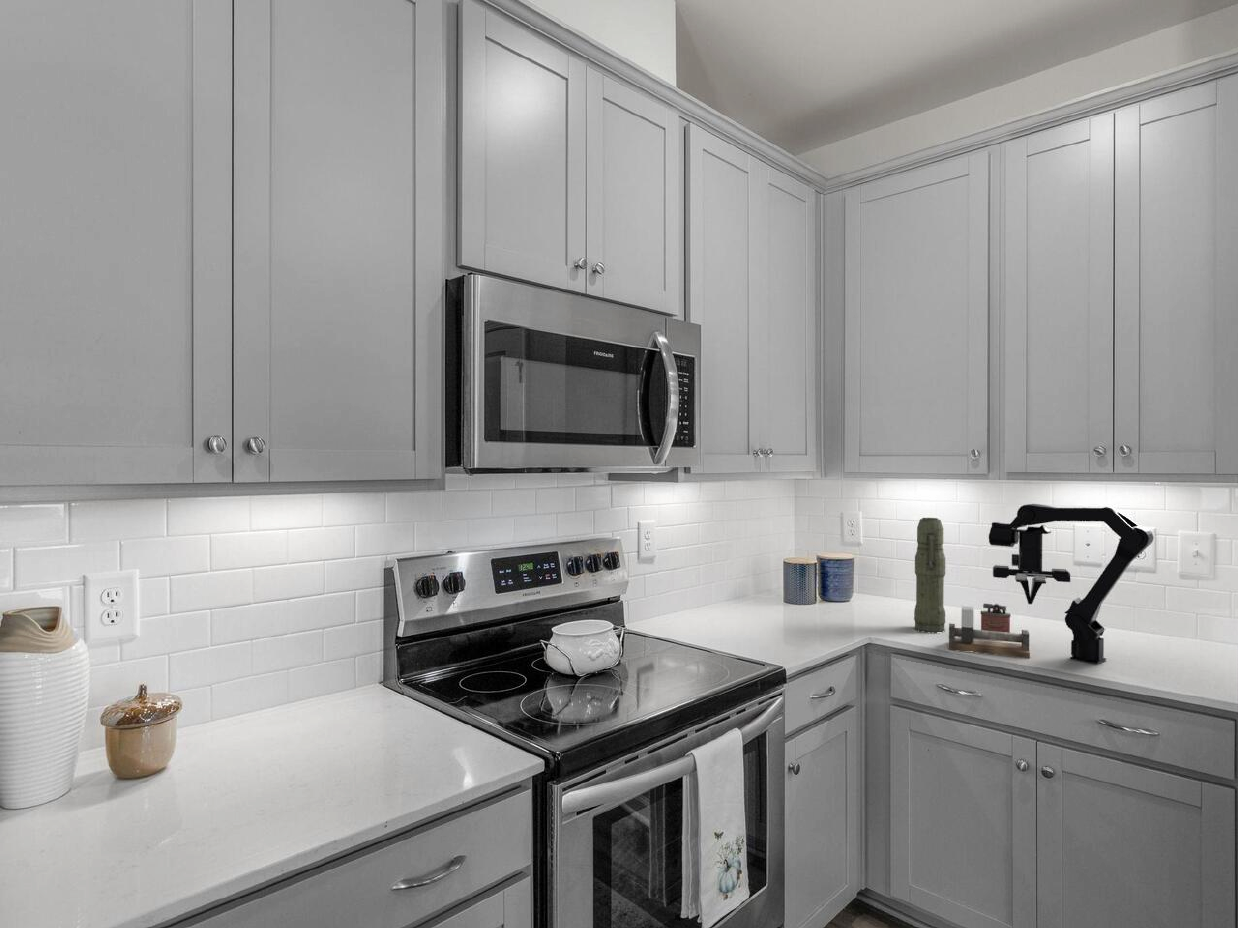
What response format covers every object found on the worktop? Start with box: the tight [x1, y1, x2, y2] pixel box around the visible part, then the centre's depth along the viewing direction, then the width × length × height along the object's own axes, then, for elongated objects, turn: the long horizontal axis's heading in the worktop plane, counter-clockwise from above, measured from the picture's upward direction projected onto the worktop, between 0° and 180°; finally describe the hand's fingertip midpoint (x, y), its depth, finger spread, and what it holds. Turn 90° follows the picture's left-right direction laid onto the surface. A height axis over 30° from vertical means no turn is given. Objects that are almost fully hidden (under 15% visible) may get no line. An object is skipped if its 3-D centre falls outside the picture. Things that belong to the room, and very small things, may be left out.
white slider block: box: [960, 605, 974, 643], centre depth 208 cm, size 3×5×9 cm, turn 155°
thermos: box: [913, 517, 946, 634], centre depth 230 cm, size 9×12×35 cm
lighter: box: [980, 603, 1011, 633], centre depth 220 cm, size 8×3×10 cm, turn 59°
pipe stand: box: [948, 622, 1031, 659], centre depth 206 cm, size 20×9×6 cm, turn 65°
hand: (1030, 604), depth 206 cm, fingers closed
